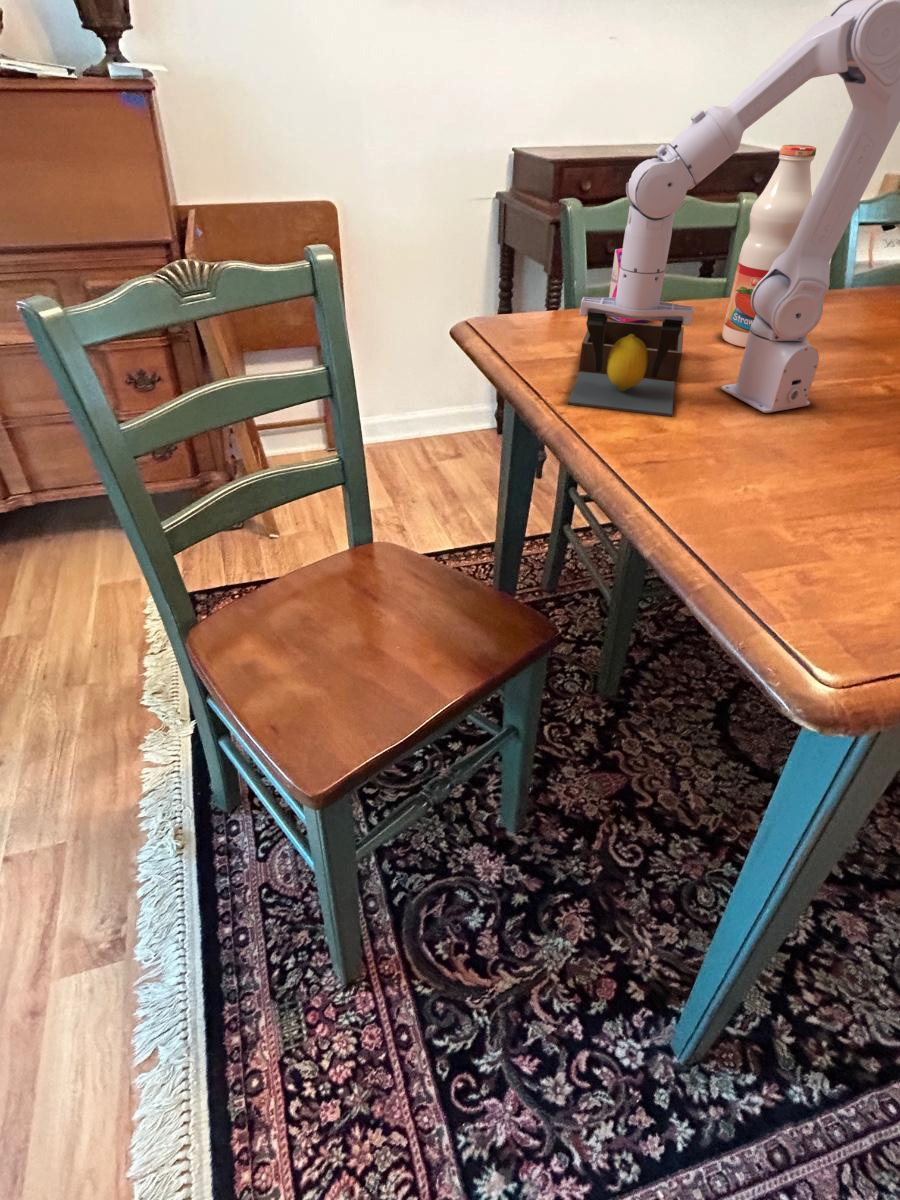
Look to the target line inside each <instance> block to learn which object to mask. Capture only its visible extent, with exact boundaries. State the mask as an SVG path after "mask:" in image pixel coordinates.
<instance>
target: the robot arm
mask: <svg viewBox="0 0 900 1200" xmlns="http://www.w3.org/2000/svg"><path fill="white" fill-rule="evenodd" d="M836 74H837V75H838V76H839V77H840V78H841V79H842V81H843V83H844V85H845V88H846V91H847V94H848V96H849V99H850V101H851V104H852V109H851V111H850V114H849V116H848V118H847V120H846V122H845V124H844V127H843V128H842V131H841V133H840V135H839V137H838V139H837V142H836V144H835V145H834V148H833V150H832V153H831V155H830V156H829V159H828V161H827V163H826V165H825V168H824V169H823V172H822V174H821V176H820V178H819V181H818V182H817V185H816V187H815V189H814V192H813V193H812V198H811V200H810V202H809V204H808V206H807V208H806V211H805V213H804V215H803V217H802V219H801V221H800V224H799V226H798V228H797V230H796V232H795V234H794V237H793V239H792V241H791V243H790V245H789V247H788V249H787V250H786V251H785V252H784V253H782V254H781V255H780V256H779V257H777V258H776V259H775V260H774V262H773V264H772V266H771V268H770V270H769V272H768V273H767V274H766V275H765V276H764V277H763V278H762V279H761V280H760V281H759V282H758V283H757V285H756V286H755V288H754V290H753V292H752V295H751V307H752V310H753V312H754V313H755V314H756V315H755V319H754V321H753V323H752V324H751V327H750V331H749V335H748V339H747V343H746V347H744V351H743V355H742V359H741V363H740V368H739V371H738V375H737V379H736V382H735V383H730V384H724V385H721V388H720V389H721V391H724V392H726V393H727V394H729V395H731V396H733V397H734V398H735V399H738V400H739V401H742V402H744V403H745V404H748V405H749V406H750V407H753V408H754V409H756V410H758V411H760V412H762V413H764V414H769V413H775V412H779V411H780V412H781V411H786V410H791V409H796V408H802V407H807V406H810V405H811V402H810V400H808V397H809V394H810V392H811V388H812V385H813V381H814V380H815V379H814V378H815V376H816V372H817V369H818V365H819V363H820V362H819V360H820V356H819V352H818V350H817V349H816V348H815V347H814V346H812V345H811V344H810V342H809V340H808V338H807V336H808V334H810V333H811V332H812V331H814V329H816V327H817V326H818V324H820V321H821V319H822V316H823V313H824V301H825V297H826V294H827V292H828V290H829V288H830V284H831V281H830V277H831V276H830V261H831V260H832V258H833V255H834V253H835V252H836V250H837V248H838V246H839V243H840V241H841V240H842V237H843V236H844V234H845V231H846V230H847V227H848V225H849V224H850V221H851V220H852V218H853V216H854V213H855V211H856V210H857V208H858V206H859V204H860V202H861V199H862V198H863V196H864V194H865V191H866V190H867V187H868V185H870V181H871V179H872V177H873V175H874V173H875V172H876V169H877V167H878V165H879V164H880V162H881V160H882V158H883V156H884V154H885V151H886V150H887V148H888V145H889V143H890V141H891V139H892V138H893V136H894V134H895V131H896V129H897V127H898V125H899V123H900V0H844V1H842V2H841V3H840V4H839V5H837V6H836V7H835V8H834V9H833V10H832V11H831V12H830V14H829V15H828V16H827V15H826V16H824V17H822V18H821V19H819V20H817V21H815V23H814V24H813V25H811V27H809V28H808V29H807V31H806V32H804V33H803V35H802V36H801V37H799V38H798V39H797V40H796V41H795V42H794V43H793V44H792V45H791V46H790V47H789V48H788V49H786V51H784V53H782V54H781V55H780V56H779V57H778V58H777V59H776V60H775V61H774V62H773V63H772V64H771V65H769V67H768V68H767V69H766V70H764V71H763V72H762V73H761V74H760V75H759V76H758V77H757V78H756V79H755V80H754V81H753V82H752V83H750V85H748V87H746V88H745V89H744V90H743V91H742V92H741V93H740V94H739V95H738V96H737V97H736V98H735V99H734V100H733V101H732V102H730V104H728V105H726V106H720V105H711V106H709V107H708V108H707V109H706V110H705V111H704V109H703V110H702V109H697V111H696V112H694V113H693V114H692V115H691V116H690V120H691V122H692V123H690V124H689V125H688V126H686V128H685V129H684V130H682V131H681V132H679V134H678V135H677V136H675V138H673V139H672V140H671V141H670V142H669V143H668V144H666V145H664V144H661V145H659V146H658V147H657V148H656V149H655V153H656V155H657V158H656V157H652V158H650V159H649V158H648V159H646V160H644V161H642V162H640V163H639V164H638V165H637V166H636V167H635V169H633V171H632V173H631V176H630V178H629V180H628V182H626V183H625V193H626V197H627V199H628V201H629V203H630V205H629V208H628V215H627V222H626V225H625V231H624V236H623V243H622V248H623V250H622V257H621V264H620V272H619V279H618V286H617V293H616V297H612V298H609V297H587V296H583V297H582V298H581V300H580V307H579V316H580V317H581V316H582V317H587V318H586V324H585V325H586V328H587V330H588V331H589V334H590V337H591V340H592V344H593V349H594V354H595V365H596V367H595V371H598V372H600V371H601V368H602V362H603V350H604V339H605V332H606V326H607V320H609V319H608V318H610V317H618V318H629V319H640V320H650V322H652V321H653V322H662V323H661V325H662V329H661V334H660V340H659V345H658V350H657V354H656V357H655V361H654V365H653V370H652V376H651V377H655V378H656V377H657V374H658V371H659V368H660V366H661V363H662V361H663V359H664V357H665V355H666V354H667V352H668V350H669V349H670V347H671V346H672V344H673V343H674V341H675V340H676V339H677V337H678V336H679V334H680V332H681V327H683V326H689V327H690V326H692V325H691V324H692V320H693V315H694V312H695V311H694V310H695V306H692V305H685V304H684V305H683V304H678V303H671V302H668V301H661V298H662V291H663V286H664V280H665V276H666V275H665V274H666V269H667V262H668V257H669V251H670V246H671V241H672V240H671V239H672V233H673V230H672V229H673V223H674V219H675V213H676V212H677V211H678V210H680V208H681V207H682V205H683V203H684V201H685V199H686V196H687V193H688V191H690V190H692V189H694V188H695V187H696V186H697V185H698V184H699V183H700V182H702V181H703V180H704V179H705V178H706V177H708V176H709V175H711V173H713V171H715V170H716V169H717V168H718V167H720V166H721V165H722V164H723V163H724V162H725V161H727V160H728V159H729V158H730V157H732V156H733V154H735V153H736V152H737V151H739V149H740V145H741V142H742V139H743V135H744V132H745V131H746V130H747V129H749V127H751V126H752V125H754V123H755V122H757V121H758V120H760V119H761V118H762V117H764V116H765V115H766V114H768V113H769V112H770V111H771V110H772V109H774V108H775V107H776V106H778V105H779V104H780V103H781V102H783V101H784V100H785V99H786V98H788V97H789V96H791V95H792V94H793V93H794V92H796V91H797V90H798V89H799V88H800V87H802V86H803V85H804V84H806V83H807V82H808V81H810V80H811V79H814V78H819V77H826V76H831V75H836Z"/></svg>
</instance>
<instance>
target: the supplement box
mask: <svg viewBox="0 0 900 1200" xmlns="http://www.w3.org/2000/svg"><path fill="white" fill-rule="evenodd" d="M622 250H623V247H622V248H616V249H615V250H614V256H613V262H612V265H613V266H612V271H611V279H610V286H609V294H608V298H612V297H616V293H617V286H618V279H619V272H620V264H621V257H622ZM609 318H610V319H611V320H613V321H622V322H632V323H643V324H644V323H649V322H651V320H640V319H629V318H618V317H609Z"/></svg>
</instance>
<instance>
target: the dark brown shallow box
mask: <svg viewBox="0 0 900 1200" xmlns="http://www.w3.org/2000/svg"><path fill="white" fill-rule="evenodd" d="M661 329H662V324H653V323H644V322H643V323H632V322H622V321H616V320H612V319H611V320H609V319H607V326H606V332H605V339H604V350H603V362H602V368H601V371H600V372H598V371H595V367H596V365H595V354H594V349H593V344H592V340H591V337H590V334H589V331H588V329H587V330H586V332H585V334H584V338H583V340H582V342H581V349H580V357H579V366H578V373H579V372H588V373H598V374H607V360H608V356H609V353H610V350H611V348H612V346H613V345H614V344H615V343H616V342H617V341H618V340H619V339H621V338H623V337H626V336H628V335H629V334H634V335H635V337H637V338H639V339H640V340H642V341H643V343H644V344H645V345H646V348H647V352H648V366H647V370H646V373H645V375H644V377H643V378H645V379H654V380H663V381H673V382H675V383H677V381H678V375H679V370H680V366H681V361H682V355H683V346H684V334H685V333H684V332H685V327H684V326H682V327H681V332H680V334H679V336H678V337H677V339H676V340H675V341H674V343H673V344H672V346H671V347H670V349H669V350H668V352H667V354H666V355H665V357H664V359H663V361H662V363H661V366H660V368H659V371H658V374H657V377H656V378H655V377H651V376H652V370H653V365H654V361H655V357H656V354H657V350H658V345H659V340H660V334H661Z"/></svg>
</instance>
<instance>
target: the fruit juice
mask: <svg viewBox="0 0 900 1200" xmlns="http://www.w3.org/2000/svg"><path fill="white" fill-rule="evenodd" d="M778 153H779V155H778V160H779V161H778V164H777V167H776V168H775V170H774V171H773V173H772V175H771V177H770V179H769V181H768V182H767V184H766V185H765V187H764V189H763V191H762V192H761V194H760V195H759V196H758V198H757V199H755V201H754V203H753V205H752V207H751V209H750V213H749V231H748V234H747V236H746V237H745V239H744V241H743V243H742V246H741V249H740V253H739V256H738V260H737V265H736V270H735V274H734V278H733V283H732V287H731V291H730V296H729V300H728V306H727V309H726V313H725V318H724V322H723V327H722V332H721V336H722V339H723V340H724V341H725V342H727V343H729V344H732V345H734V346H738V347H741V348H745V347H746V343H747V339H748V335H749V331H750V327H751V324H752V323H753V321H754V319H755V315H756V314H755V313H754V312H753V310H752V307H751V295H752V292H753V290H754V288H755V286H756V285H757V283H758V282H759V281H760V280H761V279H762V278H763V277H764V276H765V275H766V274H767V273H768V272H769V270H770V268H771V266H772V264H773V262H774V260H775V259H776V258H777V257H779V256H780V255H781V254H782V253H784V252H785V251H786V250H787V249H788V247H789V245H790V243H791V241H792V239H793V237H794V234H795V232H796V230H797V228H798V226H799V224H800V221H801V219H802V217H803V215H804V213H805V211H806V208H807V206H808V204H809V202H810V200H811V198H812V195H813V193H812V180H811V179H812V176H811V174H812V173H811V163H812V162H813V161H814V159H815V156H816V153H817V147H816V146H815V145H814V146H813V145H808V144H782V145H781V147H780V148H779V152H778Z"/></svg>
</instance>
